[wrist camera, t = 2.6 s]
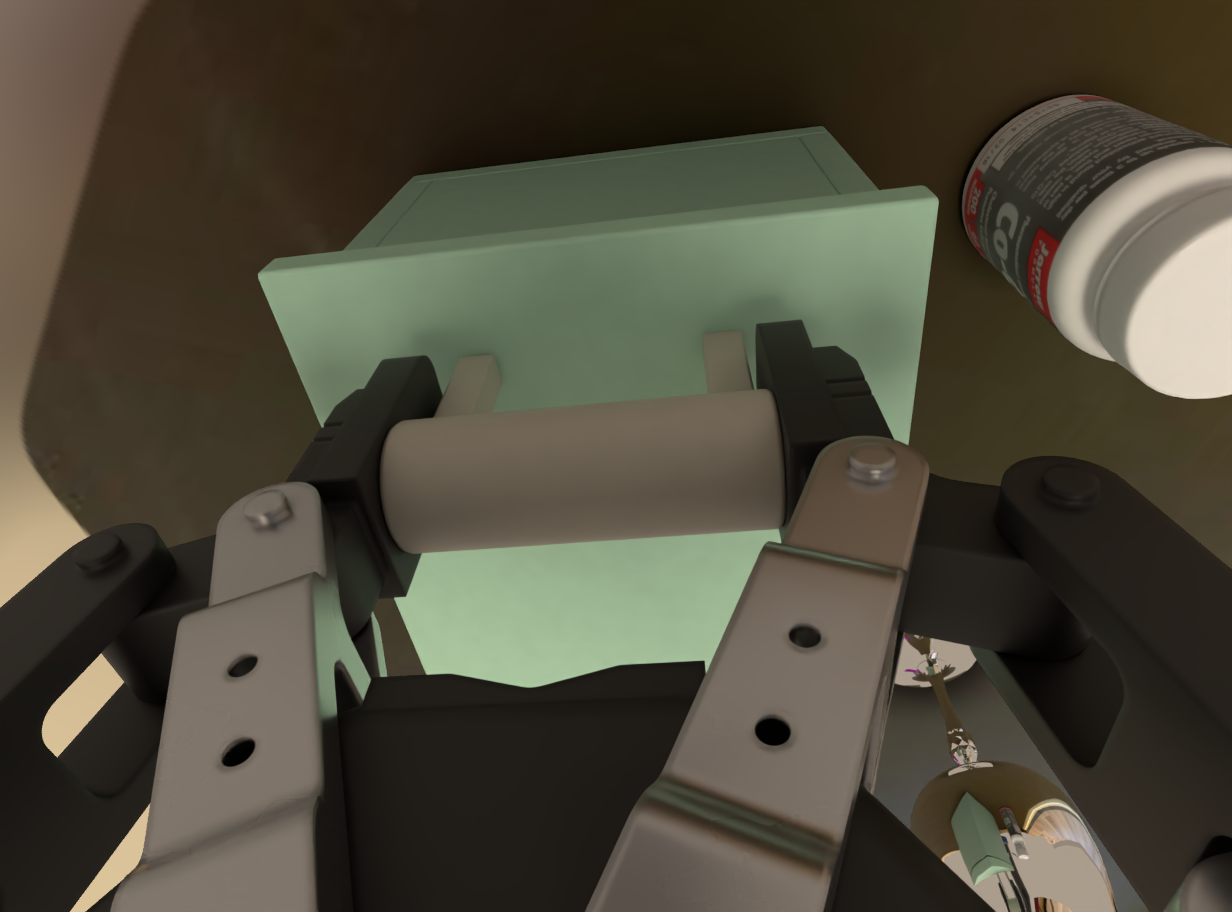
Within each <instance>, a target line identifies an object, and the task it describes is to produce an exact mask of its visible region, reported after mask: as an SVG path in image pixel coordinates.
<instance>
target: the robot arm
mask: <svg viewBox="0 0 1232 912" xmlns="http://www.w3.org/2000/svg"><path fill="white" fill-rule="evenodd" d="M755 343H756V390H757V389H767V390H770V391H772V393H773V395H774V397H775V400H776V404H777V408H778V413H779V419H780V425H781V432H782V440H783V450H784V461H785V477H786V512H785V520H784V523H783V526H782V527H780V528H779V533H780V537H781V543H776V542H771V541H768V542H766V543H765V545H764V546H763V548H762V549H761V551H760V553H759V555H758V558H757V560H756V562H755V564H754V567H753V569H752V571H751V573H750V576H749V578H748V580H747V582H746V585H745V587H744V589H743V591H742V594H741V596H740V598H739V600H738V603H737V605H736V607H735V609H734V612H733V614H732V616H731V618H730V621H729V623H728V625H727V627H726V630H725V632H724V634H723V636H722V639H721V641H720V643H719V645H718V648H717V650H716V652H715V654H714V657H713V659H712V661H711V663H710V666H709V668H708V670H707V672H706V671H705V661H686V662H666V663H646V664H627V665H617V666H614V667H610V668H606V669H603V670H599V671H595V672H591V673H588V674H584V675H580V676H576V677H573V678H569V679H565V680H561V681H558V682H554V683H550V684H546V685H543V686H538V687H529V688H528V687H520V686H515V685H510V684H504V683H499V682H494V681H488V680H483V679H478V678H472V677H467V676H462V675H456V674H451V673H449V674H430V675H410V676H390V677H387V672H386V665H385V659H384V653H383V646H382V640H381V634H380V628H379V624H378V622H377V620H376V618H375V615H374V613H373V609H374V606H375V604H376V601H377V599H380V598H396V597H406V596H407V593H408V590H409V588H410V585H411V582H412V579H413V577H414V574H415V571H416V568H417V566H418V563H419V560H420V557H421V555H422V553H419V554H411V553H408V552H405V551H403V550H402V549H400V548H399V547H398V546H397V544H396V543H395V542H394V540H393V538H392V536H391V534H390V532H389V530H388V527H387V524H386V521H385V517H384V513H383V508H382V502H381V495H380V461H381V454H382V449H383V445H384V442H385V439H386V437H387V434H388V432H389V431H390V429H391V428H392V427H393V426H394V425H395V424H397V423H399V422H401V421H404V420H414V419H425V418H433V417H434V415H435V412H436V410H437V408H438V406H439V403H440V401H441V399H442V397H443V395H442V392H441V388H440V385H439V382H438V378H437V375H436V372H435V369H434V366H433V364H432V362H431V360H430V359H429V357H427V356H426V355H421V356H411V357H401V358H390V359H383V360H382V361H381V362H380V363H379V365H378V367H377V368H376V370H375V371H374V373H373V375H372V376H371V378H370V380H369V381H368V383H367V384H366V386H365V388H364V389H357V390H355V391H354V392H353V393H351V394H350V395H349V396H348V397H346V398H345V399H344V400H342V401H341V402H340V403H339V404H337V405H336V406H335V407H334V409H333V410H332V412H331V413H330V415H329V416H328V418H327V419H326V421H325V422H324V427H322V428H321V429H320V430H319V432H318V433H317V435H316V436H315V438H314V442H311V444H310V445H309V447H308V448H307V450H306V451H305V453H304V454H303V456H302V458H301V459H300V461H299V462H298V464H297V465H296V467H295V468H294V470H293V471H292V473H291V474H290V476H289V477H288V479H287V480H286V482H283V483H278V484H274V485H270V486H267V487H264V488H261V489H259V490H257V491H254V492H252V493H250V494H248V495H247V496H245V497H243V498H242V499H240V500H239V501H237V502H236V503H235V504H233V505H232V506H231V507H230V508H229V509H228V510H227V511H226V512H225V513H224V515H223V516H222V517H221V519H220V521H219V523H218V526H217V533H216V535H213V536H209V537H206V538H202V539H199V540H195V541H192V542H188V543H185V544H181V545H177V546H174V547H170V548H167V547H166V545H165V544H164V542H163V541H162V539H161V537H160V536H159V534H158V533H157V531H156V530H155V529H154V528H153V527H152V526H150V525H147V524H141V523H131V524H124V525H119V526H115V527H112V528H109V529H105V530H103V531H100V532H98V533H96V534H94V535H91V536H89V537H87V538H86V539H84V540H82V541H80V542H78V543H77V544H75V545H74V546H72V547H71V548H70V549H68V550H67V551H66V552H64V553H63V554H62V555H61V556H60V557H59V558H57V559H56V560H55V561H54V562H53V563H52V564H50V565H49V566H48V567H47V568H46V569H45V570H43V571H42V572H41V573H40V574H39V575H38V576H37V577H35V578H34V579H33V580H32V581H31V582H30V583H28V584H27V585H26V586H25V587H24V588H23V589H21V590H20V591H19V592H18V593H17V594H16V595H15V596H13V597H12V598H11V599H10V600H9V601H8V602H7V603H5V604H4V605H3V606H2V607H1V608H0V912H70V911H71V909H72V908H73V907H74V905H75V904H76V902H77V901H78V900H79V898H80V897H81V896H82V894H83V893H84V892H85V890H86V889H87V888H88V886H89V885H90V883H91V882H92V881H93V880H94V878H95V877H96V875H97V874H98V873H99V871H100V870H101V869H102V867H103V866H104V865H105V863H106V862H107V860H108V859H109V858H110V856H111V855H112V854H113V853H114V851H115V850H116V848H117V847H118V846H119V844H120V843H121V842H122V840H123V839H124V838H125V836H126V835H127V834H128V832H129V831H130V830H131V828H132V827H133V826H134V824H135V823H136V821H137V820H138V819H139V817H140V816H141V815H142V813H143V812H144V811H145V809H146V808H147V807H148V805H149V804H150V810H149V816H148V823H147V830H146V836H145V842H144V848H143V853H142V856H141V859H140V861H139V863H138V865H137V866H136V868H135V869H134V870H132V871H131V872H130V873H129V874H128V875H127V876H126V877H125V878H124V879H123V880H122V881H121V882H120V883H119V884H118V885H117V886H115V887H114V888H113V889H112V890H110V891H109V892H108V893H107V894H106V895H105V896H103V897H102V898H101V899H100V900H99V901H98V902H97V903H95V904H94V905H93V906H92V907H91V908H89V909H88V910H87V911H86V912H996V911H995V910H994V909H993V908H992V907H991V906H990V905H989V904H988V903H986V902H985V901H984V900H983V899H982V898H981V897H980V896H979V895H978V894H977V893H976V892H975V891H974V890H973V889H972V888H971V887H969V886H968V885H967V884H966V883H965V882H964V881H963V880H962V879H961V878H960V877H959V876H958V875H957V874H956V873H955V872H954V871H953V870H951V869H950V868H949V867H948V866H947V865H946V864H945V863H944V862H943V861H942V860H941V859H940V858H939V857H938V856H937V855H936V854H935V853H933V852H932V851H931V850H930V849H929V848H928V847H927V846H926V845H925V844H924V843H923V842H922V841H921V840H920V839H919V838H918V837H916V836H915V835H914V834H913V833H912V832H911V831H910V830H909V829H908V828H907V827H906V826H905V825H904V824H903V823H902V822H901V821H900V820H898V819H897V818H896V817H895V816H894V815H893V814H892V813H891V812H890V811H889V810H888V809H887V808H886V807H885V806H884V805H883V804H882V803H880V802H879V801H878V800H877V799H876V798H875V797H874V796H873V792H874V787H875V781H876V776H877V771H878V765H879V759H880V753H881V748H882V742H883V737H884V731H885V726H886V722H887V717H888V712H889V707H890V702H891V698H892V693H893V688H894V683H895V679H896V674H897V669H898V664H899V660H900V655H901V650H902V645H903V640H904V636H905V633H908V634H913V635H918V636H923V637H928V638H933V639H938V640H943V641H947V642H952V643H957V644H962V645H967V646H969V647H970V650H971V652H972V653H973V655H974V657H975V658H976V660H977V661H978V663H979V664H980V666H981V667H982V668H983V670H984V671H985V673H986V674H987V676H988V677H989V679H990V680H991V682H992V683H993V684H994V686H995V687H996V689H997V690H998V692H999V693H1000V695H1001V696H1002V698H1003V699H1004V700H1005V702H1006V703H1007V705H1008V706H1009V708H1010V709H1011V711H1012V712H1013V714H1014V715H1015V716H1016V718H1017V719H1018V721H1019V722H1020V724H1021V725H1022V727H1023V728H1024V730H1025V731H1026V732H1027V734H1028V735H1029V737H1030V738H1031V740H1032V741H1033V743H1034V744H1035V746H1036V747H1037V748H1038V750H1039V751H1040V753H1041V754H1042V756H1043V757H1044V759H1045V760H1046V762H1047V763H1048V764H1049V766H1050V767H1051V769H1052V770H1053V772H1054V773H1055V775H1056V776H1057V778H1058V779H1059V780H1060V782H1061V783H1062V785H1063V786H1064V788H1065V789H1066V791H1067V792H1068V794H1069V795H1070V796H1071V798H1072V799H1073V801H1074V802H1075V804H1076V805H1077V807H1078V808H1079V810H1080V811H1081V812H1082V814H1083V815H1084V817H1085V818H1086V820H1087V821H1088V823H1089V824H1090V826H1091V827H1092V828H1093V830H1094V831H1095V833H1096V834H1097V836H1098V837H1099V839H1100V840H1101V842H1102V843H1103V844H1104V846H1105V847H1106V849H1107V850H1108V852H1109V853H1110V855H1111V856H1112V857H1113V859H1114V860H1115V862H1116V863H1117V865H1118V866H1119V868H1120V869H1121V871H1122V872H1123V873H1124V875H1125V876H1126V878H1127V879H1128V881H1129V882H1130V884H1131V885H1132V887H1133V888H1134V889H1135V891H1136V892H1137V894H1138V895H1139V897H1140V898H1141V900H1142V901H1143V903H1144V904H1145V905H1146V907H1147V908H1148V910H1149V911H1150V912H1232V569H1231V568H1229V567H1228V566H1227V565H1226V564H1225V563H1223V562H1222V561H1221V560H1220V559H1219V558H1217V557H1216V556H1215V555H1214V554H1213V553H1211V552H1210V551H1209V550H1208V549H1207V548H1205V547H1204V546H1203V545H1202V544H1201V543H1199V542H1198V541H1197V540H1196V539H1195V538H1193V537H1192V536H1191V535H1190V534H1189V533H1187V532H1186V531H1185V530H1184V529H1183V528H1181V527H1180V526H1179V525H1178V524H1177V523H1175V522H1174V521H1173V520H1172V519H1170V518H1169V517H1168V516H1167V515H1166V514H1164V513H1163V512H1162V511H1161V510H1160V509H1158V508H1157V507H1156V506H1155V505H1154V504H1152V503H1151V502H1150V501H1149V500H1148V499H1146V498H1145V497H1144V496H1143V495H1142V494H1140V493H1139V492H1138V491H1137V490H1136V489H1134V488H1133V487H1132V486H1131V485H1130V484H1128V483H1127V482H1126V481H1125V480H1124V479H1122V478H1121V477H1119V476H1118V475H1117V474H1115V473H1113V472H1112V471H1110V470H1108V469H1106V468H1104V467H1101V466H1099V465H1097V464H1094V463H1091V462H1088V461H1084V460H1080V459H1076V458H1069V457H1062V456H1040V457H1032V458H1028V459H1024V460H1022V461H1019V462H1017V463H1015V464H1013V465H1012V466H1010V467H1009V468H1008V469H1007V470H1006V471H1005V473H1004V475H1003V477H1002V482H1001V486H994V485H986V484H978V483H970V482H962V481H956V480H951V479H947V478H943V477H939V476H937V475H934V474H931V473H929V466H928V463H927V461H926V460H925V458H924V457H923V456H922V455H921V454H920V453H919V452H918V451H917V450H915V449H914V448H912V447H910V446H909V445H907V444H904V443H902V442H900V441H897V440H894V437H893V435H892V433H891V431H890V429H889V427H888V425H887V423H886V421H885V418H884V416H883V414H882V412H881V410H880V408H879V406H878V404H877V402H876V399H875V397H874V395H872V391H871V389H870V387H869V385H868V383H867V381H865V376H864V374H863V372H862V370H861V368H860V366H859V364H858V362H857V360H856V359H855V358H854V357H852V356H851V355H849V354H848V353H846V352H845V351H843V350H842V349H841V348H839V347H838V346H825V347H814V348H813V347H812V344H811V342H810V339H809V337H808V334H807V331H806V329H805V326H804V324H803V321H802V320H801V319H799V320H789V321H779V322H768V323H758V324H756V333H755ZM101 653H102V654H103V656H104V657H105V658H106V659H107V661H108V662H109V663H110V665H111V666H112V667H113V668H114V670H115V671H116V672H117V673H118V675H119V676H120V677H121V678H122V680H123V681H124V683H123V684H122V686H121V687H120V688H119V689H118V690H117V691H116V692H115V694H114V695H113V696H112V697H111V698H110V699H109V700H108V701H107V702H106V703H105V705H104V706H103V707H102V708H101V709H100V710H99V711H98V713H97V714H96V715H95V716H94V717H93V718H92V719H91V720H90V721H89V723H88V724H87V725H86V726H85V727H84V728H83V729H82V731H81V732H80V733H79V734H78V735H77V736H76V737H75V738H74V739H73V741H72V742H71V743H70V744H69V745H68V747H66V749H65V750H64V751H63V752H62V753H61V754H60V755H59V756H58V758H57V757H56V756H55V755H54V754H53V753H52V752H51V751H50V750H49V749H48V748H47V747H46V745H45V744H44V742H43V739H42V725H43V721H44V718H45V716H46V713H47V712H48V710H49V709H50V707H51V706H52V704H53V703H54V702H55V701H56V700H57V699H58V698H59V697H60V696H61V695H62V694H63V693H64V692H65V690H66V689H67V688H68V687H69V686H70V685H71V684H72V683H73V682H74V681H75V680H76V679H77V678H78V677H79V676H80V675H81V673H83V672H84V671H85V670H86V668H87V667H88V666H89V665H90V664H91V663H92V662H93V661H94V660H95V659H96V658H97V657H98V656H99V655H100V654H101Z"/></svg>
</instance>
